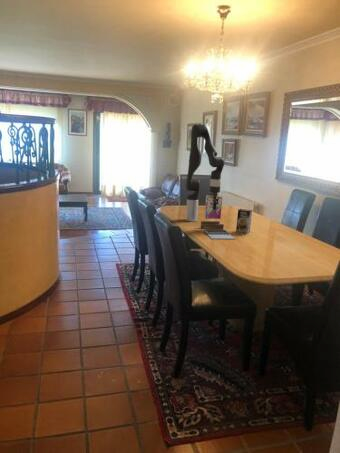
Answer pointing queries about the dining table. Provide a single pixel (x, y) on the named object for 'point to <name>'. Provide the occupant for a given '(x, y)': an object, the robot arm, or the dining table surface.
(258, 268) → the dining table surface
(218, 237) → the pad
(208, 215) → the candy bar box
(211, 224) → the walled channel
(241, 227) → the coffee box
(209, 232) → the tray
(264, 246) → the dining table surface
